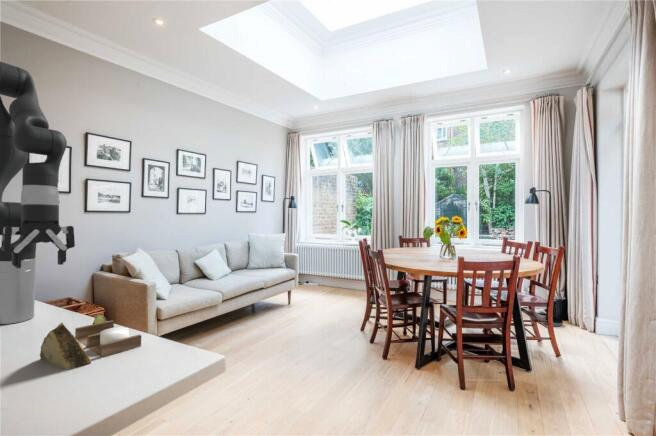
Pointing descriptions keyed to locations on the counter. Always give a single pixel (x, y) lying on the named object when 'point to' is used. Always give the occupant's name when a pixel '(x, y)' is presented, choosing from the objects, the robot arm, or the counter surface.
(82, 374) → the counter surface
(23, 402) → the counter surface
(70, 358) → the rock
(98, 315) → the lime
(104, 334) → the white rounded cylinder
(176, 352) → the counter surface
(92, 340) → the rack
